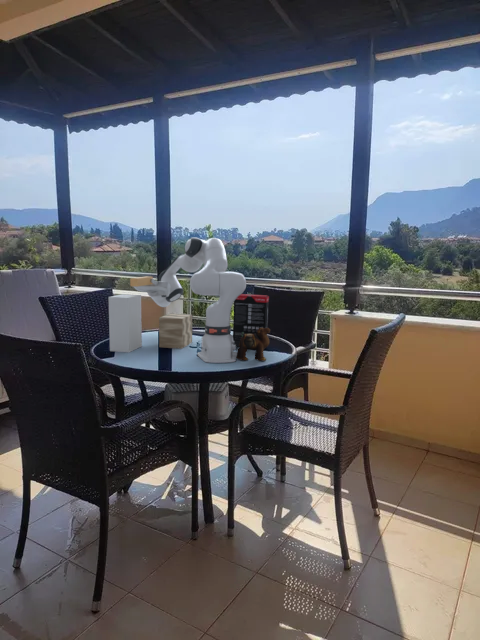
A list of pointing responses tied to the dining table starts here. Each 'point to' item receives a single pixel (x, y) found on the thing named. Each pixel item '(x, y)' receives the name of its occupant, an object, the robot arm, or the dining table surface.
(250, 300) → the graphics card box
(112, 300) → the stand
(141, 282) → the bar
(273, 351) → the dining table surface
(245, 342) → the figurine
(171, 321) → the pedestal
